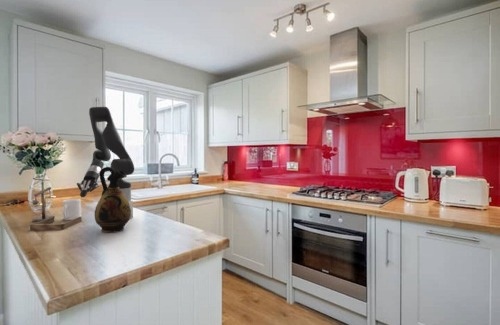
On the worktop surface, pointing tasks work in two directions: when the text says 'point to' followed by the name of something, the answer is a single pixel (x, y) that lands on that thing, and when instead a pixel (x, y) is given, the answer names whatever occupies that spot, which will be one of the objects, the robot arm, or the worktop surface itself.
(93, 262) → the worktop surface
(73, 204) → the mug
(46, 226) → the tray frame
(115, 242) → the worktop surface
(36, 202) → the balance
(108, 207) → the ceramic jug
